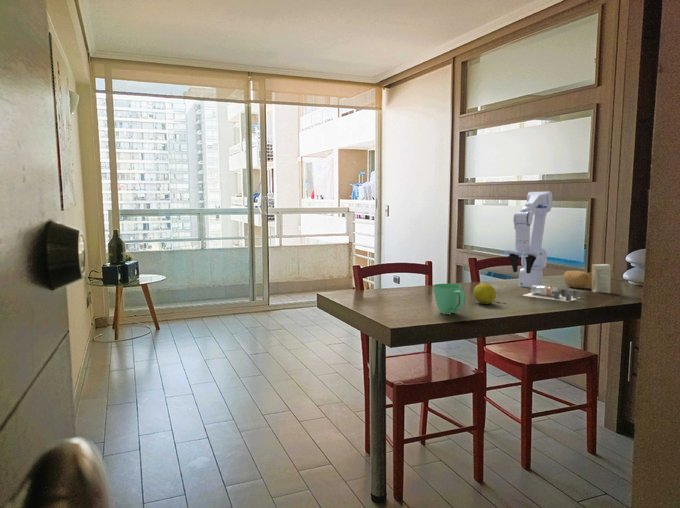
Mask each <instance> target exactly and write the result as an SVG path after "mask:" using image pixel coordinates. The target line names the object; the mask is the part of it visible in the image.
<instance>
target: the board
mask: <svg viewBox="0 0 680 508" xmlns="http://www.w3.org/2000/svg"><path fill="white" fill-rule="evenodd" d="M561 295H562V294H560V299H554V297H550V296H543V295H535V294H531V292H529V293H526V294H523V295H522V296H524V297H530V298H537V299H544V300H545V299H546V300H554V301H560V302H568V303H569V302H572V301H574V300H575V301H576V300H577V299H581V297H579V296H578V298H573V295H571V301H566V297H561Z"/></svg>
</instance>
